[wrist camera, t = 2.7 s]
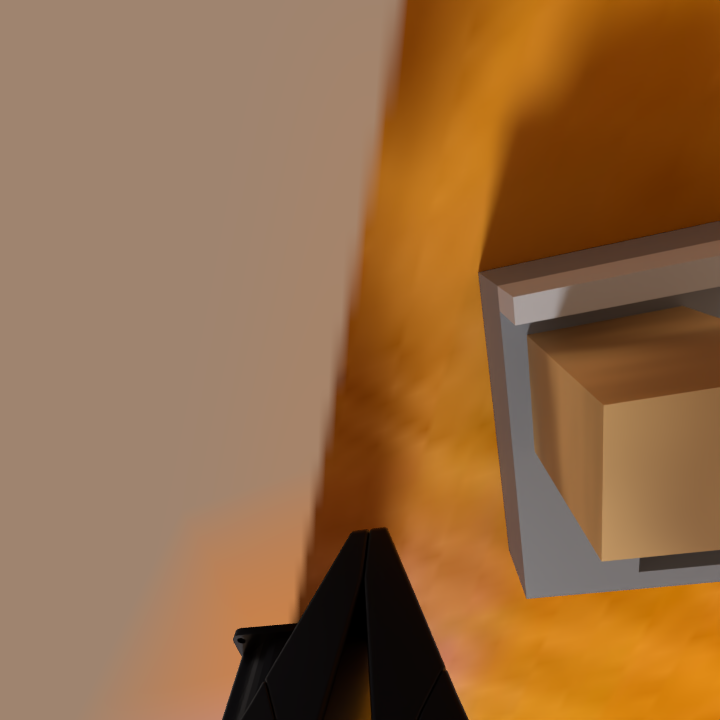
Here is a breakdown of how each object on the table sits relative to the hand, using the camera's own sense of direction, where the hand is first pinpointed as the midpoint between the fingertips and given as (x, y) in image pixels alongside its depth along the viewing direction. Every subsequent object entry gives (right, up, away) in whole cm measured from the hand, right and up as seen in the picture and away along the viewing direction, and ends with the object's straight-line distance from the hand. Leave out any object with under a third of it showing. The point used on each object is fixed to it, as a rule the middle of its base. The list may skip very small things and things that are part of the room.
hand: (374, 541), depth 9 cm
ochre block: (+8, +3, +4) cm, 9 cm away
